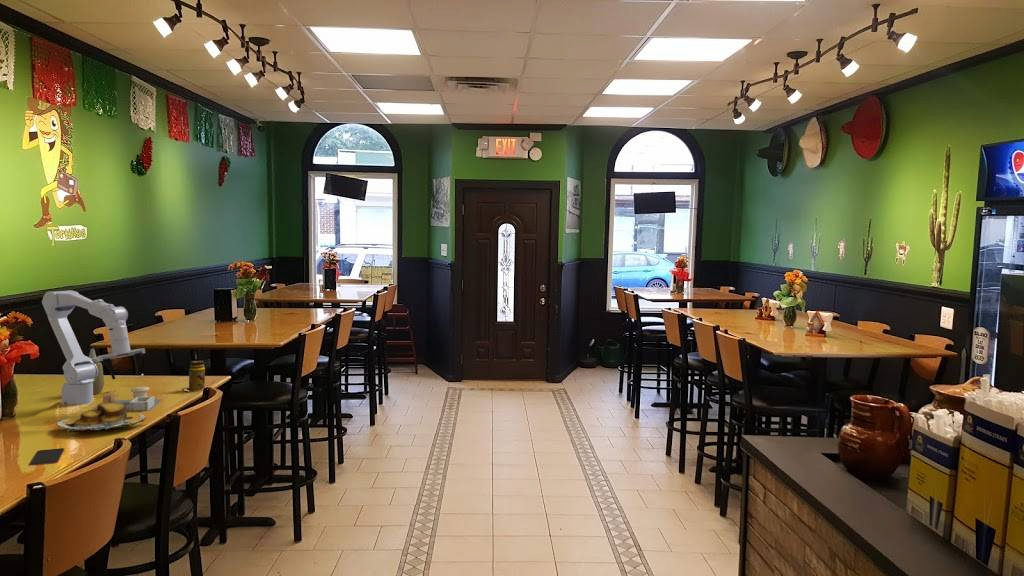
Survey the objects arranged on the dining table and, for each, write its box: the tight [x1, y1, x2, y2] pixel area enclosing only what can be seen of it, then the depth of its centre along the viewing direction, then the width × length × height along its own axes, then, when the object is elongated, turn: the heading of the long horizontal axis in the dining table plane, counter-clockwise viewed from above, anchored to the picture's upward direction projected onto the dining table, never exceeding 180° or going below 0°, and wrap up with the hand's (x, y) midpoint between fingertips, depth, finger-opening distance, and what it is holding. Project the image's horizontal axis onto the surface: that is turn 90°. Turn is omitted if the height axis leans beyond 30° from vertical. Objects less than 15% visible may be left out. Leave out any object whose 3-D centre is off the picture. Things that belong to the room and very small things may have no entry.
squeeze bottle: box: [88, 348, 105, 395], centre depth 263 cm, size 8×8×18 cm
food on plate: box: [55, 402, 147, 432], centre depth 221 cm, size 25×25×7 cm
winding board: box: [91, 386, 164, 412], centre depth 242 cm, size 20×17×6 cm
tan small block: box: [102, 392, 116, 403], centre depth 238 cm, size 2×4×5 cm, turn 15°
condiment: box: [182, 360, 206, 393], centre depth 276 cm, size 7×8×12 cm
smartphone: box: [28, 447, 65, 466], centre depth 190 cm, size 7×1×14 cm
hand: (126, 376), depth 238 cm, fingers open, 7 cm apart
